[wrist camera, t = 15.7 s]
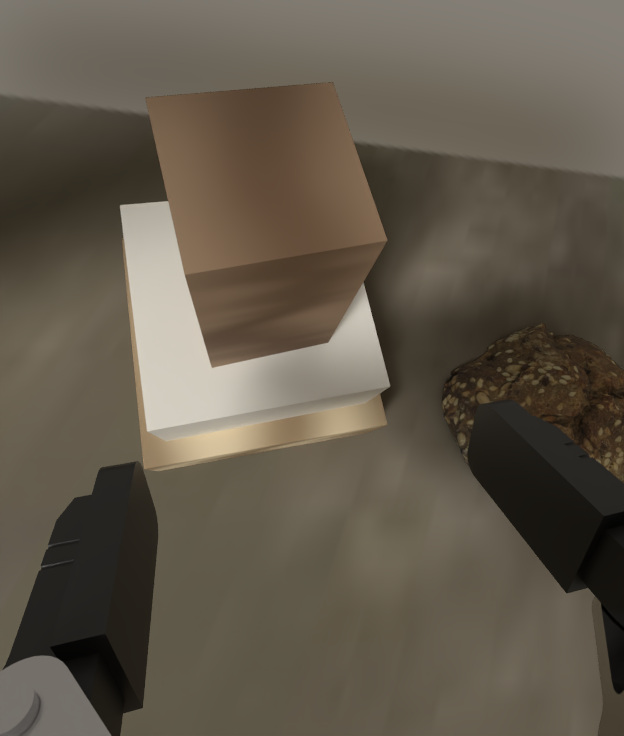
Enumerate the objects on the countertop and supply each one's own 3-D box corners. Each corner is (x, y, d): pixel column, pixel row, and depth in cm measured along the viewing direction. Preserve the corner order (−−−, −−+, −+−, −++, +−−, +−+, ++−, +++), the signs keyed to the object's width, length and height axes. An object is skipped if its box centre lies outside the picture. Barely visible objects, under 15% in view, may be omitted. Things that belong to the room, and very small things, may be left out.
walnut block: (211, 368, 17) (184, 274, 10) (187, 259, 18) (145, 97, 11) (328, 342, 18) (387, 240, 11) (298, 241, 19) (333, 81, 12)
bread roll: (546, 571, 25) (617, 592, 20) (411, 404, 26) (447, 386, 22) (665, 437, 28) (749, 428, 24) (540, 297, 30) (596, 261, 25)
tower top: (165, 441, 20) (146, 431, 16) (141, 252, 22) (119, 205, 18) (365, 403, 22) (390, 386, 18) (324, 233, 24) (338, 187, 20)
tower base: (160, 471, 23) (143, 469, 20) (139, 274, 26) (122, 239, 22) (366, 433, 26) (387, 424, 22) (327, 256, 28) (340, 221, 25)
